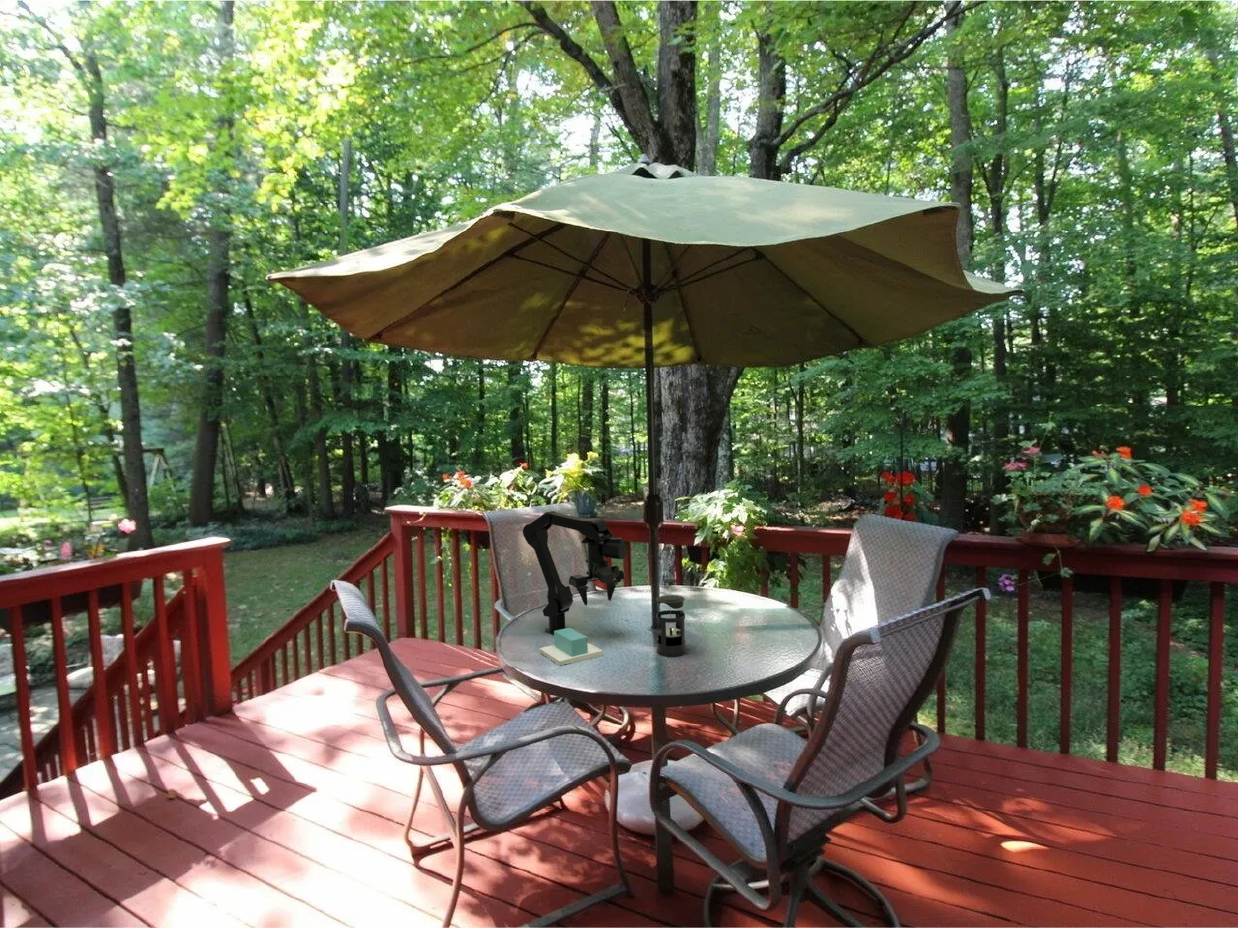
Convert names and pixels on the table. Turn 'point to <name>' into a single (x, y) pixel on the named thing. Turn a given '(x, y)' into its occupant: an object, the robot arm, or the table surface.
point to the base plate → (564, 658)
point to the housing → (570, 642)
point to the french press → (671, 638)
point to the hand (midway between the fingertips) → (597, 602)
